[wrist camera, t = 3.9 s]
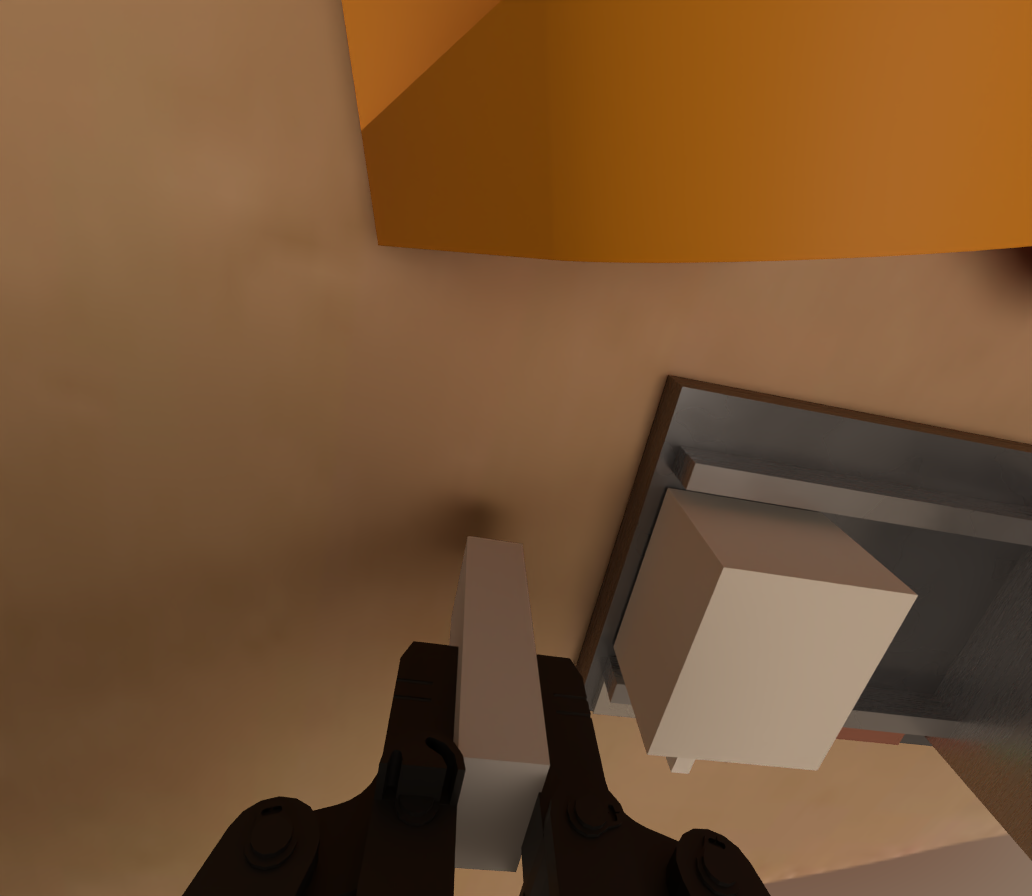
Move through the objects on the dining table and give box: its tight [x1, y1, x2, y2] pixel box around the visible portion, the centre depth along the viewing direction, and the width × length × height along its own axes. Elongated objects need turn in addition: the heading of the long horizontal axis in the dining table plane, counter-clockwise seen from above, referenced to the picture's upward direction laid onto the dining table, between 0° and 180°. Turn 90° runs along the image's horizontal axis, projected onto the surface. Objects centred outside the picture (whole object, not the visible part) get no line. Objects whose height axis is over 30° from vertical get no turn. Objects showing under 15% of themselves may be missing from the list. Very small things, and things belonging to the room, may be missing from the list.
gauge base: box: [576, 375, 1032, 860], centre depth 16 cm, size 16×12×7 cm
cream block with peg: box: [613, 488, 918, 774], centre depth 16 cm, size 5×9×4 cm, turn 169°
